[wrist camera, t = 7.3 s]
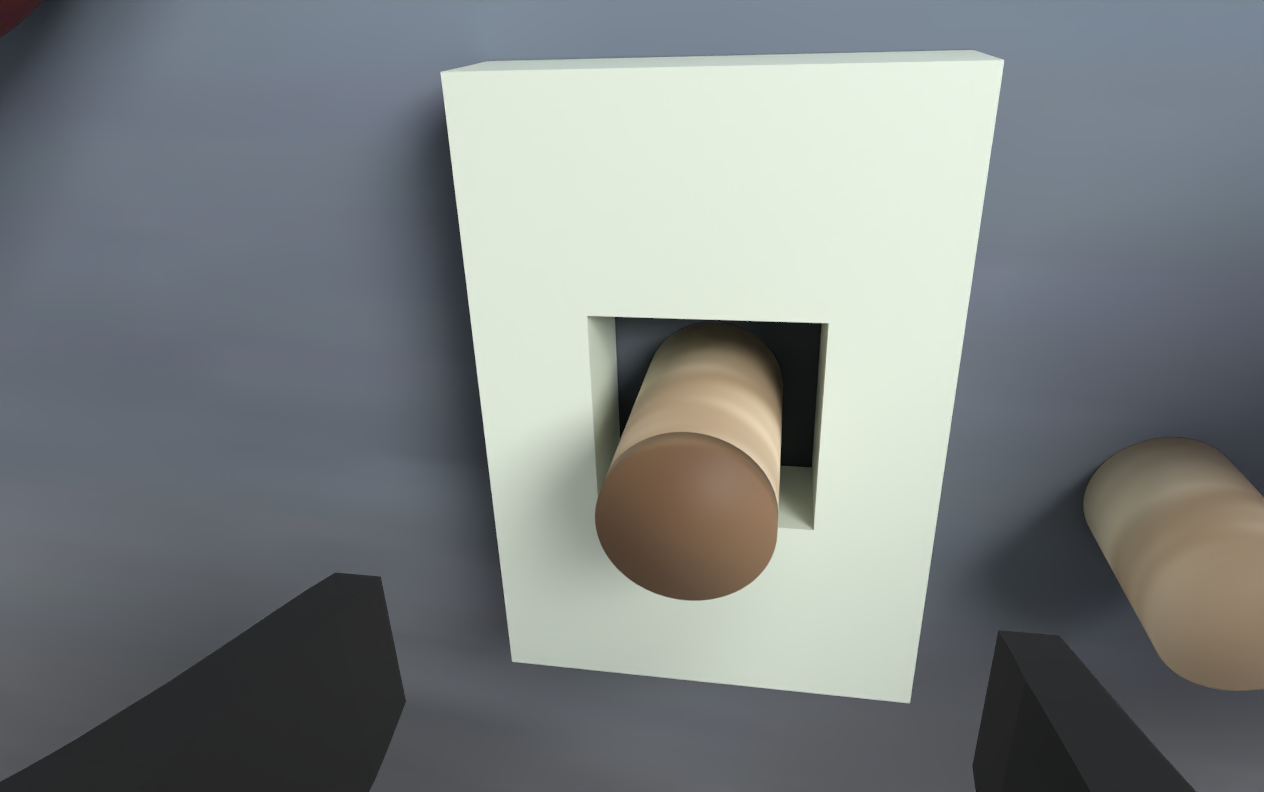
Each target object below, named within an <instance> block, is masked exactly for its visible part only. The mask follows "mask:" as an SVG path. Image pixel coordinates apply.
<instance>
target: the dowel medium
mask: <svg viewBox="0 0 1264 792" xmlns="http://www.w3.org/2000/svg"><path fill="white" fill-rule="evenodd" d="M782 403H783V377H782V373H781V369H780V366H779V364H778V361H777V360H776V358H775V356H774V354H773V353H772V351H771V350H770V349H769V347H768V346H767V345H766V344H765V343H764V342H763V341H762V340H760V339H759V338H758V337H757V336H755V335H754V334H752V333H750V332H749V331H747V330H745V329H743V328H740V327H738V326H734V325H731V324H726V323H719V322H707V323H699V324H694V325H691V326H688V327H685V328H683V329H681V330H679V331H677V332H676V333H674V334H673V335H671V336H670V337H669V338H668V339H666V340H665V341H664V342H663V343H662V345H661V346H660V347H659V348H658V350H657V351H656V353H655V354H654V356H653V359H652V361H651V363H650V366H649V368H648V371H647V373H646V376H645V378H644V381H643V383H642V386H641V389H640V391H639V394H638V396H637V399H636V401H635V404H634V406H633V409H632V411H631V414H630V416H629V419H628V422H627V424H626V427H625V429H624V432H623V434H622V437H621V439H620V442H619V444H618V447H617V450H616V452H615V455H614V457H613V460H612V462H611V465H610V467H609V470H608V472H607V475H606V477H605V480H604V483H603V485H602V488H601V490H600V493H599V495H598V499H597V503H596V508H595V526H596V531H597V535H598V538H599V541H600V544H601V546H602V548H603V550H604V552H605V553H606V555H607V556H608V558H609V559H610V561H611V562H612V563H613V564H614V566H615V567H616V568H617V569H618V570H619V571H620V572H621V573H622V574H624V575H625V576H626V577H627V578H628V579H630V580H631V581H633V582H634V583H635V584H637V585H639V586H641V587H642V588H644V589H646V590H648V591H651V592H653V593H655V594H658V595H661V596H665V597H668V598H673V599H678V600H688V601H702V600H711V599H716V598H720V597H724V596H727V595H730V594H732V593H735V592H737V591H739V590H741V589H743V588H744V587H746V586H747V585H749V584H750V583H752V582H753V581H754V580H755V579H756V578H757V577H758V576H759V575H760V574H761V573H762V572H763V571H764V569H765V568H766V567H767V565H768V563H769V562H770V560H771V558H772V555H773V553H774V550H775V547H776V542H777V532H778V507H779V481H780V455H781V429H782Z"/></svg>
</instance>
